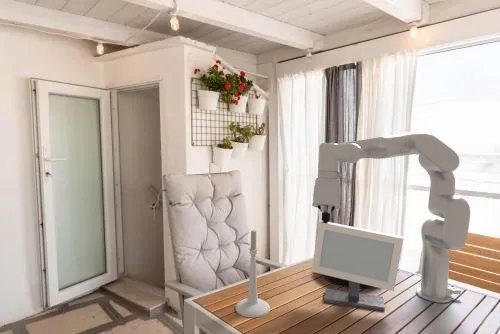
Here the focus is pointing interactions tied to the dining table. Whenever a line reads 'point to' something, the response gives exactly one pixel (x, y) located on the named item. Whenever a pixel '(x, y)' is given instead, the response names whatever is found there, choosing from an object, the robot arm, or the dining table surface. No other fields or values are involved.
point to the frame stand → (354, 298)
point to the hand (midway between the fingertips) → (325, 222)
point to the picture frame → (357, 255)
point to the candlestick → (252, 289)
